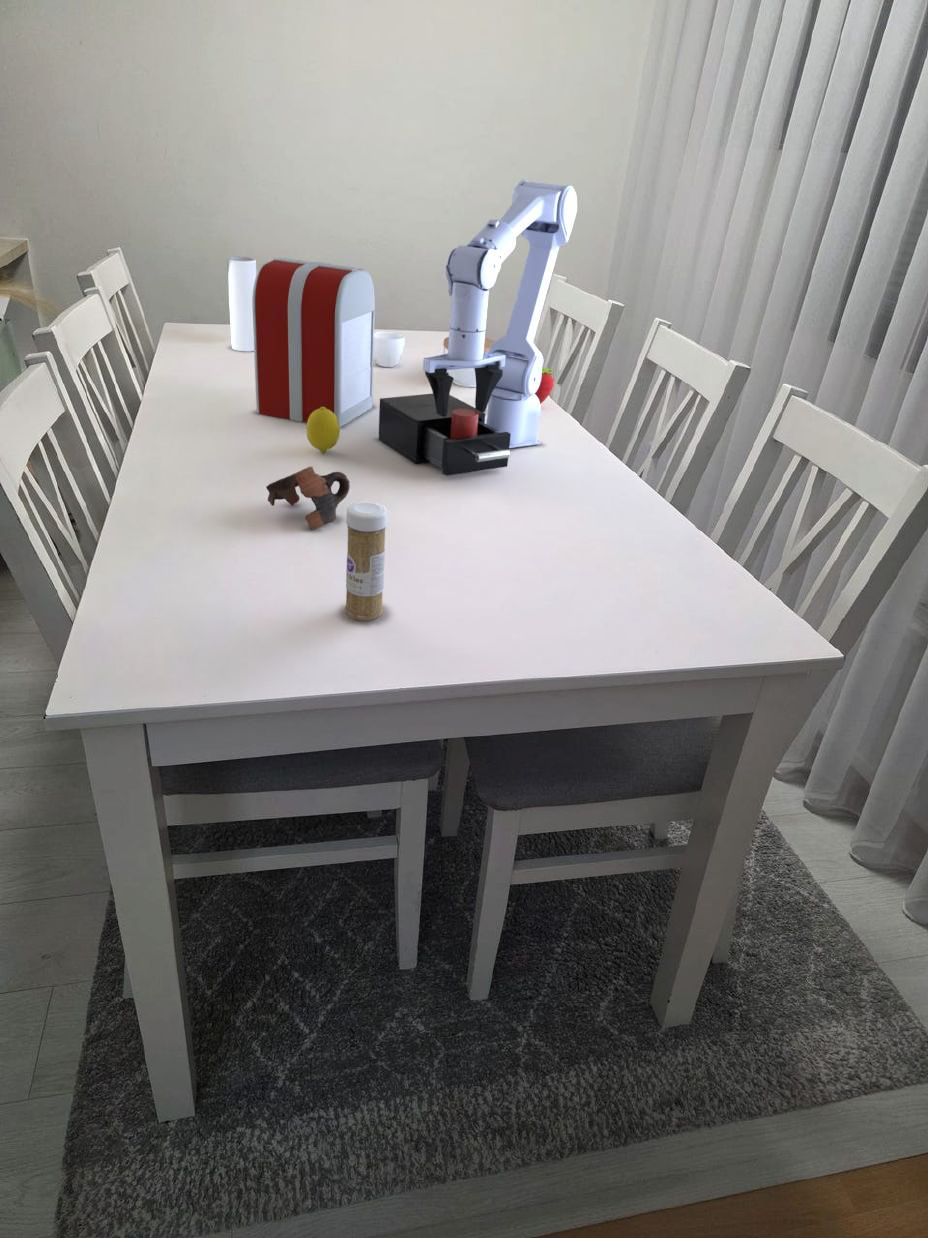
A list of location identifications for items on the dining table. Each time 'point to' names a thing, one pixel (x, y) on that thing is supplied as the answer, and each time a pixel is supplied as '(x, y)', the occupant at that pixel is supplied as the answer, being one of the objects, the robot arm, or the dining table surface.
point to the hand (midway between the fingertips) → (461, 412)
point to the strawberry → (545, 385)
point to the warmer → (413, 421)
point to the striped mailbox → (313, 339)
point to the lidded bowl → (465, 375)
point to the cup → (388, 348)
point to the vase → (241, 301)
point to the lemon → (323, 429)
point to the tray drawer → (464, 448)
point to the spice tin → (464, 423)
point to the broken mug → (312, 493)
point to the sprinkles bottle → (365, 560)
